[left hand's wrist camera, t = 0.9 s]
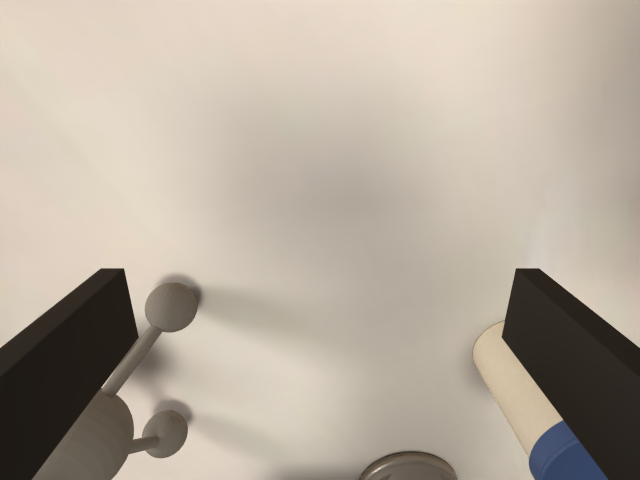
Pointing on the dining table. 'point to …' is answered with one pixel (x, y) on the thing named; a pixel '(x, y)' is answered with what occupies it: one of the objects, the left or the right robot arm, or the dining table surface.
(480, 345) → the jar
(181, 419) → the molecular model
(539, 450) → the lid
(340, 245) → the dining table surface
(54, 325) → the left robot arm
